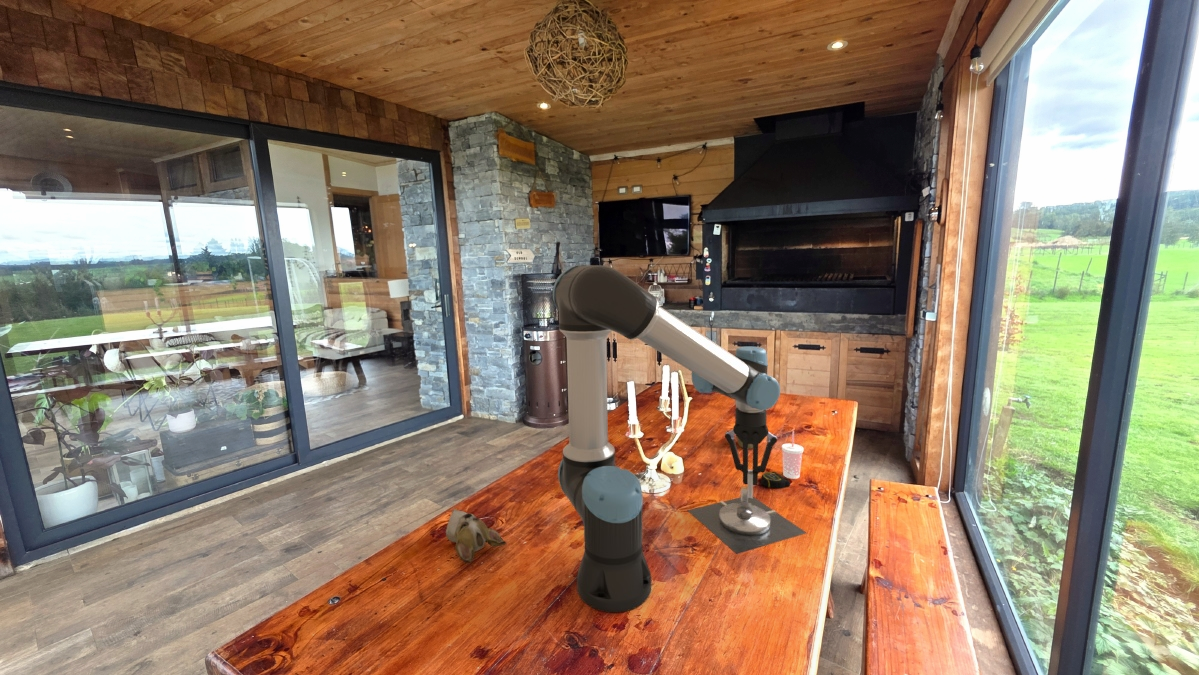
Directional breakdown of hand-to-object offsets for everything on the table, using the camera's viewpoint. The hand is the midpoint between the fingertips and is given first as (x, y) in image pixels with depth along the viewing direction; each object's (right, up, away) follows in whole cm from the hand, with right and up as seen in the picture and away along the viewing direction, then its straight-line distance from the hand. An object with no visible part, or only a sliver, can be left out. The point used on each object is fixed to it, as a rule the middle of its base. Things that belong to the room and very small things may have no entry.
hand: (750, 495), depth 123 cm
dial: (-3, -4, -5) cm, 7 cm away
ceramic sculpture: (-69, -8, -12) cm, 71 cm away
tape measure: (+11, -2, +14) cm, 18 cm away
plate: (-3, -6, -6) cm, 9 cm away
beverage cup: (+19, -1, +21) cm, 28 cm away
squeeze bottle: (+13, +3, +44) cm, 46 cm away
